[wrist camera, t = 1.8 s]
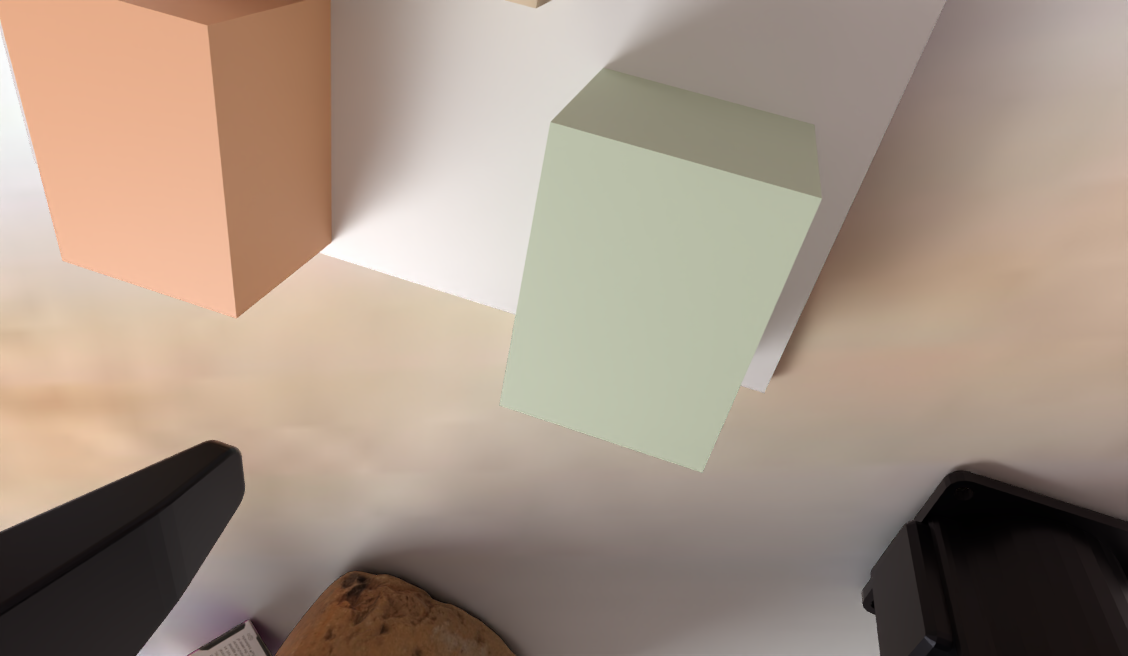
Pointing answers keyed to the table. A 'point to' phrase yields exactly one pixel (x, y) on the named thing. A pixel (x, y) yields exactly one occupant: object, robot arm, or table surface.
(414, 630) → the block
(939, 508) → the robot arm
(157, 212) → the terracotta block
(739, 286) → the sage block
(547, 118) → the baseplate
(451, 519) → the table surface
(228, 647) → the candy bar box
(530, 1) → the foundation slab
